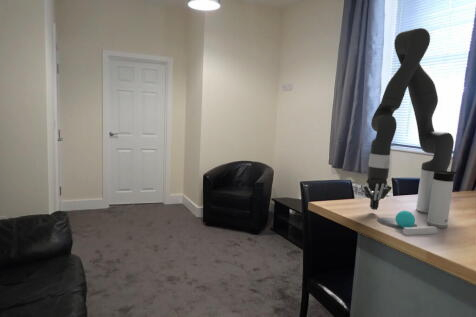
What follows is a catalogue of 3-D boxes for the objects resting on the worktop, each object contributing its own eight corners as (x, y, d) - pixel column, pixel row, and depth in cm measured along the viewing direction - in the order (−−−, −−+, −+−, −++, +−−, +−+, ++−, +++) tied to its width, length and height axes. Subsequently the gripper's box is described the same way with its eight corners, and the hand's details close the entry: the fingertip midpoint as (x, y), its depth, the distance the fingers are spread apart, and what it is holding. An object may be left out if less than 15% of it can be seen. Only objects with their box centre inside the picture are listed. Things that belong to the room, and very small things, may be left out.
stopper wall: (432, 231, 114) (433, 226, 114) (436, 233, 113) (437, 227, 112) (403, 233, 111) (403, 227, 110) (406, 234, 109) (407, 228, 109)
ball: (403, 221, 121) (407, 206, 119) (417, 230, 115) (421, 214, 113) (390, 223, 119) (393, 208, 117) (403, 232, 114) (406, 217, 112)
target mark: (398, 217, 130) (399, 216, 130) (426, 228, 117) (426, 228, 117) (369, 218, 126) (370, 217, 126) (394, 229, 114) (394, 229, 114)
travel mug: (451, 229, 118) (459, 173, 115) (430, 227, 119) (438, 171, 117) (444, 224, 124) (451, 170, 122) (424, 222, 125) (431, 168, 123)
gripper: (370, 167, 126) (365, 212, 128) (399, 167, 130) (394, 211, 132) (358, 164, 133) (353, 206, 136) (386, 164, 137) (381, 206, 139)
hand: (373, 209), depth 134 cm, fingers closed
